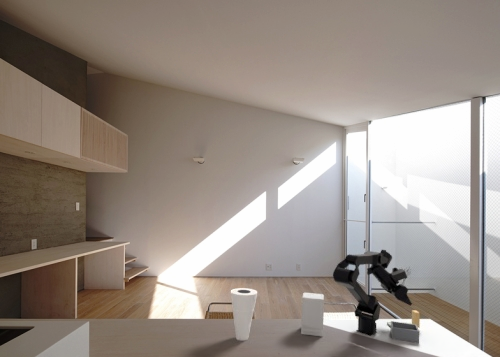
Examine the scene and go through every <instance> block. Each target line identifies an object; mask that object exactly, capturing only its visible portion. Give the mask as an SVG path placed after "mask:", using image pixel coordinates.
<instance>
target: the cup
mask: <svg viewBox="0 0 500 357" xmlns="http://www.w3.org/2000/svg"><path fill="white" fill-rule="evenodd" d="M257 298H258V290H256V289H254V288H248V287H239V288H238V287H236V288H233V289H231V290H230V299H231V308H232V314H233V322H234V325H233V326H234V331H235V332H234V333H235V340H237V341H241V342H242V341H244V342H245V341H248V339H249V336H250V330H251V326H252V321H253V316H254V312H255V306H256V301H257Z"/></svg>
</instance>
